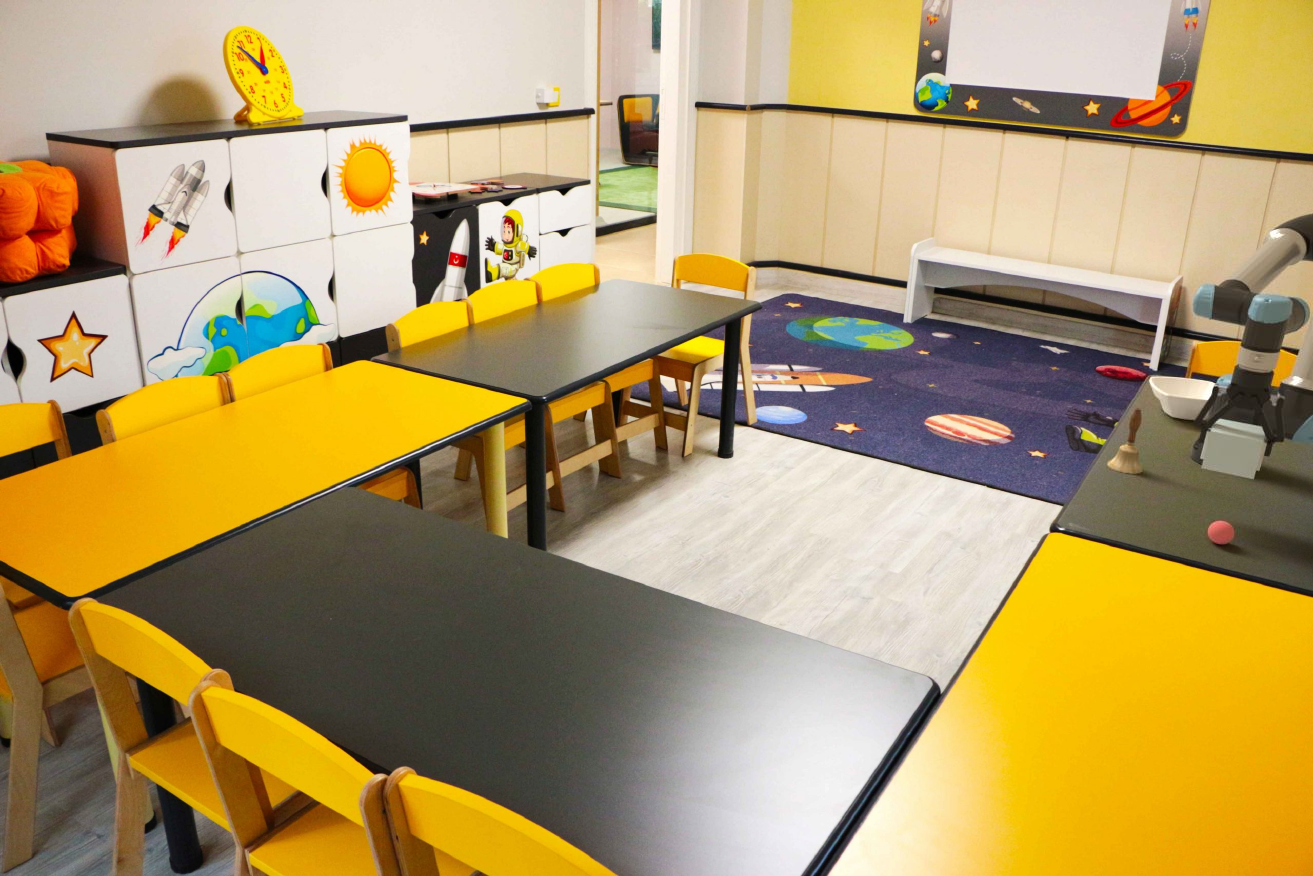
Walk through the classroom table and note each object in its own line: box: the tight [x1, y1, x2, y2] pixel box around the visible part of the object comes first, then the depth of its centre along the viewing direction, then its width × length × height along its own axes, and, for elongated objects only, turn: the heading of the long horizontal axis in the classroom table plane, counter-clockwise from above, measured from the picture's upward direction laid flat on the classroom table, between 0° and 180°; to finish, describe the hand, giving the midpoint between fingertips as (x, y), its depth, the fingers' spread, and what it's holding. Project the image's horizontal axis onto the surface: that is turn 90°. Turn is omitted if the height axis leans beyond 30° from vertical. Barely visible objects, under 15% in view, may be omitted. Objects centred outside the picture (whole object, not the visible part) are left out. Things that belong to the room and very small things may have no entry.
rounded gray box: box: [1201, 419, 1266, 480], centre depth 224 cm, size 10×10×9 cm
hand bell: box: [1106, 407, 1144, 475], centre depth 254 cm, size 8×8×16 cm
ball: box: [1207, 520, 1235, 545], centre depth 218 cm, size 5×5×5 cm
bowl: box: [1148, 376, 1216, 421], centre depth 295 cm, size 21×21×9 cm
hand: (1229, 462), depth 226 cm, fingers closed on rounded gray box, 10 cm apart
